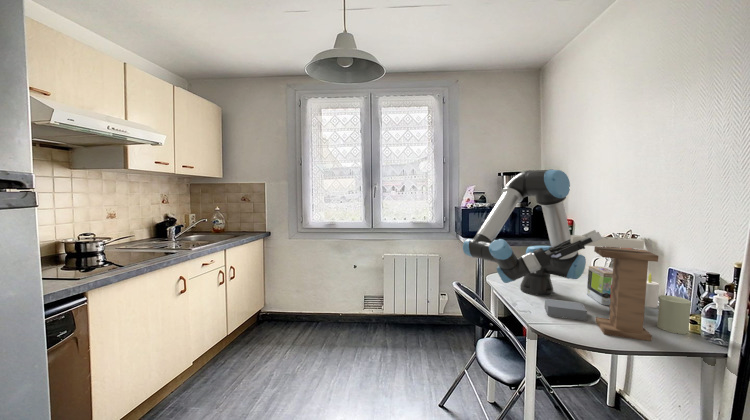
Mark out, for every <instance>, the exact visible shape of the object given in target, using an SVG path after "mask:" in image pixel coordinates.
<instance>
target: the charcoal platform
mask: <svg viewBox="0 0 750 420" xmlns="http://www.w3.org/2000/svg"><path fill="white" fill-rule="evenodd" d="M544 309H545V313H546V315H548V317H555V316H556V317H557V318H562V317H563V319H569V320H571V319H572V320H579V321H584V322H585V321H586V322H587V321H588V310H587V309H586V307H585V305H584V304H583V303H582V302H577V301H570V300H560V299H552V298H544ZM556 317H555V318H556Z"/></svg>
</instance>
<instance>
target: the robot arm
mask: <svg viewBox="0 0 750 420" xmlns="http://www.w3.org/2000/svg"><path fill="white" fill-rule="evenodd" d="M570 187H571V183H570V178H569V176H568V175H567V173H566V172H565V171H562V170H560V169H540V170H539V169H537V170H536V169H535V170H534V169H533V170H531V169H529V170H524V171H522V172H519V173H518V174H516V175H515V176H513V177H512V178H511V179H510V180H509V181H507V182H506V184H505V185H504V187H503V188H502V189H501V196H500V197H499V199H498V200H497V201H496V203H495V205H494V206H493V207H492V210H491V211H490V212H489V213H488V215H487V217H486V218H485V220H484V222H483V223H482V225H481V226H480V228H479V229H478V231H477V232H476V234H475V236H474V237H473V238H467V239H466V240H465V241H463V244H462V251H463V253H464V255H466V256H468V257H470V258H471V257H472V258H474V259H481V260H484V261H488V262H492V263H496V264H497V265H498V266H496V272H497V274H498V276H499V277H500V280H501V281H502V282H503V283H504V284H509V283H511V282H515V281H516V280H519V279H521V278H522V280H521V283H520V291H521V292H523V293H526V294H529V295H533V296H542V297H546V296H547V297H549V296H552V295H554V291H555V290H554V287H553V282H552V280H551V275H554V276H556V277H561V278H565V279H571V280H578V279H579V278H580V277H582V275H583V274H584V271H585V269H586V263H587V261H586V257H585V256H584V255H583V254H579V251H580V250H584V249H586V247H585V246H586V245H589V244H591V243H593V242H596V241H598V240H601V239H603V238H602V237H603V236H602V234H601V233H600V231H596V230H595V229H594V230H591V231H589V232H587V233H584V234H582V235H581V236H587V237H585V238H582V239H580V240H579V241H577V242H574V243H572V244H571V243H570V240H571V230H570V227H569V224H568V219H567V214H566V209H565V208H566V207H565V205H564V201H565V200H566V199H567V196H568V195H569V194H570V191H571V190H570ZM526 197H532V198H533V197H534V198H535V201H536V204H538V206H541V211H542V213H543V218H544V222H545V226H546V230H547V234H548V239H549V243H550V245H530V246H528V247H527V248H526V249H525V254H523V255H521V256H518V257H517V255H516V253H515V252H514V251H513V248H512V247H511V245H510V244H509V242H508V241H506V240H505V239H502V238H499V239H496V238H497V236H498V234H499V233H500V232H501V230H502V229H503V227H504V225H505V223H507V220H508V219H509V218H510V215H511V214H512V212H513V211H514V210H515V208H516V206H517V204H520V203H521V202H522V201H523V200H524V198H526Z"/></svg>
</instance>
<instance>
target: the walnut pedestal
mask: <svg viewBox="0 0 750 420" xmlns="http://www.w3.org/2000/svg"><path fill="white" fill-rule="evenodd" d="M593 248H594V253H596V254H598V255H599V256H601V257H602V258H606V259H613V264H612V268H613V276H612V289H611V303H610V305H609V307H610V311H609V318H604V317H598V316H596V317H595V322H594V323H596V325H597V327H598V328H599V329H600V331H601V332H602V334H603V335H606V336H613V337H620V338H626V339H634V340H642V341H648V342H652V338H653V335H652V334H651V333H650V332H649V331H648V330H647V329H646V328H645V327H644V321H645V320H644V319H645V307H646V306H645V297H646V284H647V281H648V270H649V269H648V268H649V262H657V263H658V262H659V255H657V254H655V253H653V252H651V251H648V250H646V249H627V248H617V247H602V246H594V247H593Z"/></svg>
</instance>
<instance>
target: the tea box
mask: <svg viewBox="0 0 750 420" xmlns="http://www.w3.org/2000/svg"><path fill="white" fill-rule="evenodd" d="M587 270H588V272H587V273H588V274H587V288H586V295H587V296H588V297H590V298H591V299H593V301H596V302H597V303H599V304H600V305H603V306H604V305H605V306H610V293H611V280H612V276H613V267H609V266H597V265H594V266H593V265H589V266H588V269H587Z"/></svg>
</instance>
